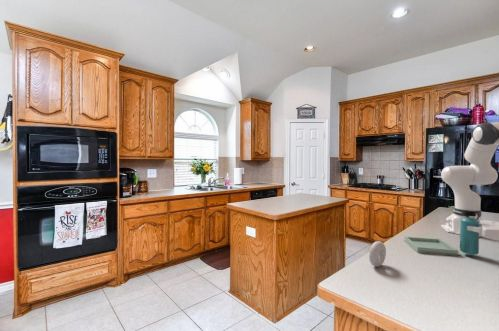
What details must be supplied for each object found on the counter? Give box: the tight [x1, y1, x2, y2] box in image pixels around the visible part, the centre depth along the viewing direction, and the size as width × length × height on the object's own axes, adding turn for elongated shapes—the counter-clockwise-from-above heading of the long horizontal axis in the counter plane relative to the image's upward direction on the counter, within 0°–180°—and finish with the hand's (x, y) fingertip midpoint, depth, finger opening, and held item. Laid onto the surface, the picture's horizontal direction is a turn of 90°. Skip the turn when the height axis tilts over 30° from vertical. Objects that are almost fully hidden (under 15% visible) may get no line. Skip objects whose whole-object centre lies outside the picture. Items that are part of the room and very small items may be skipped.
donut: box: [368, 240, 387, 268], centre depth 99 cm, size 10×4×10 cm, turn 130°
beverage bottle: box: [459, 210, 480, 255], centre depth 110 cm, size 6×7×20 cm
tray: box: [403, 236, 459, 257], centre depth 119 cm, size 16×16×2 cm
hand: (466, 225), depth 110 cm, fingers closed on beverage bottle, 6 cm apart
